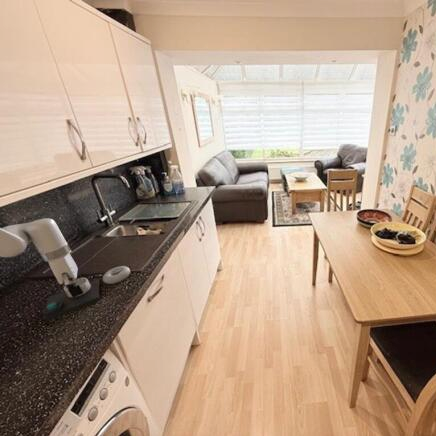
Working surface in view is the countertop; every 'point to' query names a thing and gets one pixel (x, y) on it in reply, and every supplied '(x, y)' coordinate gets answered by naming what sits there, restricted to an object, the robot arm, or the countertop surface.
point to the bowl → (83, 285)
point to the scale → (71, 301)
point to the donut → (116, 275)
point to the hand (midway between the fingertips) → (78, 289)
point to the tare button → (52, 306)
